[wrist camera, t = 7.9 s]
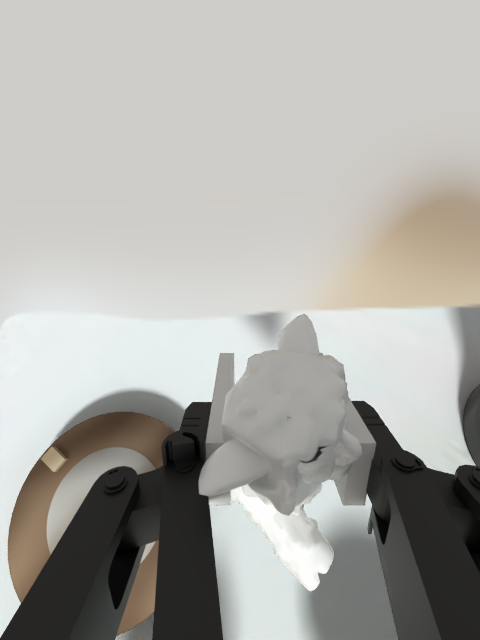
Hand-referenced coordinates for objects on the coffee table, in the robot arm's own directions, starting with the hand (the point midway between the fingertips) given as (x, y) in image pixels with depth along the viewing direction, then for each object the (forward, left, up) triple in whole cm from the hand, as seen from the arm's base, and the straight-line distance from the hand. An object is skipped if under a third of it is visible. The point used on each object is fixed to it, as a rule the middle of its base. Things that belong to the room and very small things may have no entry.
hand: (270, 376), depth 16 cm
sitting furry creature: (-2, +3, -4) cm, 5 cm away
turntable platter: (+7, +16, -18) cm, 24 cm away
